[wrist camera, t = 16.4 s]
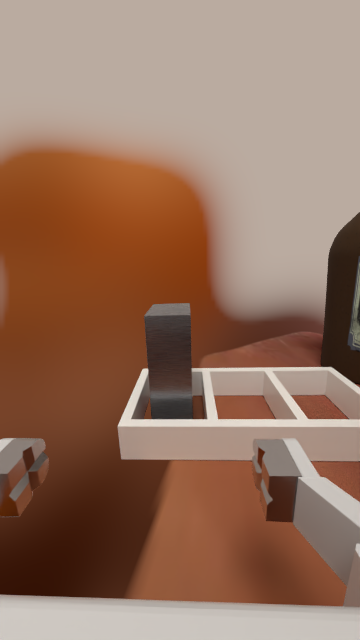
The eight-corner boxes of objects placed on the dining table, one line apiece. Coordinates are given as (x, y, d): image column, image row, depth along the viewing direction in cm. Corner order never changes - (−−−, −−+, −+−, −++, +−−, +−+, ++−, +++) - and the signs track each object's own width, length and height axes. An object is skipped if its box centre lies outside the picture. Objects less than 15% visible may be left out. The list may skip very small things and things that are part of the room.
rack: (326, 389, 27) (329, 365, 26) (403, 461, 17) (412, 426, 16) (145, 390, 28) (143, 367, 27) (121, 459, 18) (117, 426, 17)
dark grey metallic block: (191, 403, 25) (189, 303, 22) (193, 437, 20) (190, 314, 17) (159, 404, 25) (153, 304, 22) (153, 438, 20) (144, 315, 17)
